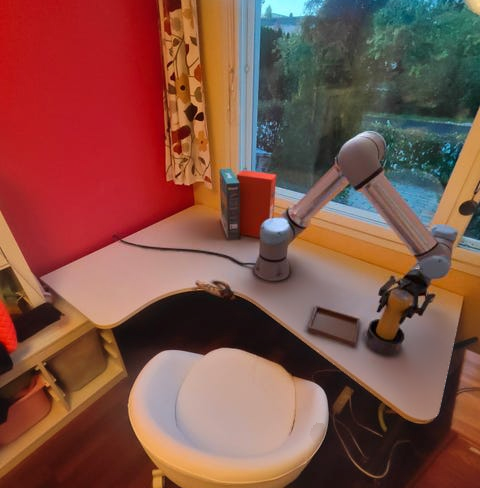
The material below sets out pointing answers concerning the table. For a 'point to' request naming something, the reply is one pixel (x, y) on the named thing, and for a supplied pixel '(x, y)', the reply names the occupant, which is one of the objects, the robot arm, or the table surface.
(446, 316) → the table surface
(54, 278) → the table surface
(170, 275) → the table surface
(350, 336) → the tray
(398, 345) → the bowl
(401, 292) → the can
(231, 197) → the cake mix box
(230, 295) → the bone fish hook
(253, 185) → the file binder
